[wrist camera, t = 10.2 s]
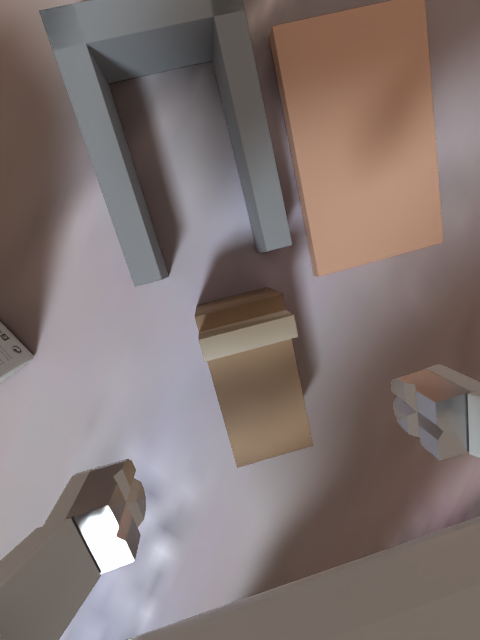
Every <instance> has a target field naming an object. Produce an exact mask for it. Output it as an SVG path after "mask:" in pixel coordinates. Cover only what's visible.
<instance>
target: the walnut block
mask: <svg viewBox="0 0 480 640" xmlns="http://www.w3.org/2000/svg"><path fill="white" fill-rule="evenodd" d="M195 319H196V323H197V327H198V330H199V343H200V347H201V350H202V354H203V358H204V361H205V362H206V361H207V362H208V366H209V369H210V373H211V376H212V380H213V383H214V387H215V390H216V394H217V397H218V401H219V405H220V408H221V412H222V415H223V419H224V422H225V426H226V429H227V433H228V436H229V440H230V443H231V447H232V451H233V454H234V458H235V461H236V465H237V468H238V467H242V466H245V465H248V464H252V463H255V462H259V461H262V460H265V459H269V458H272V457H276V456H279V455H282V454H286V453H289V452H293V451H296V450H299V449H303V448H306V447H309V446H313V443H312V438H311V433H310V428H309V423H308V418H307V413H306V408H305V403H304V398H303V393H302V388H301V383H300V378H299V373H298V368H297V363H296V358H295V353H294V348H293V343H292V338H296V337H298V333H297V328H296V322H295V317H294V315H293V314H292V313H290V312H289V311H287V310H286V308H285V303H284V298H283V294H281V293H279V292H277V291H274V290H272V289H270V288H264V289H260V290H256V291H252V292H248V293H244V294H240V295H236V296H232V297H228V298H224V299H220V300H216V301H213V302H209V303H205V304H201V305H197V307H196V313H195Z"/></svg>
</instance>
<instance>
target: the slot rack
mask: <svg viewBox="0 0 480 640" xmlns="http://www.w3.org/2000/svg"><path fill="white" fill-rule="evenodd" d="M39 12H40V15H41V18H42V21H43V24H44V26H45V29H46V32H47V35H48V38H49V41H50V44H51V47H52V49H53V52H54V55H55V58H56V61H57V64H58V67H59V70H60V73H61V75H62V78H63V81H64V84H65V87H66V90H67V93H68V96H69V98H70V101H71V104H72V107H73V110H74V113H75V116H76V119H77V121H78V124H79V127H80V130H81V133H82V136H83V139H84V142H85V145H86V147H87V150H88V153H89V156H90V159H91V162H92V165H93V168H94V170H95V173H96V176H97V179H98V182H99V185H100V188H101V191H102V193H103V196H104V199H105V202H106V205H107V208H108V211H109V214H110V216H111V219H112V222H113V225H114V228H115V231H116V234H117V237H118V240H119V242H120V245H121V248H122V251H123V254H124V257H125V260H126V263H127V265H128V268H129V271H130V274H131V277H132V280H133V283H134V286H135V287H136V286H139V285H143V284H147V283H151V282H154V281H158V280H162V279H164V278H166V277H168V276H169V275H168V272H167V269H166V265H165V262H164V259H163V256H162V253H161V249H160V246H159V243H158V240H157V237H156V234H155V230H154V227H153V224H152V221H151V218H150V215H149V211H148V208H147V205H146V202H145V199H144V195H143V192H142V189H141V186H140V183H139V180H138V176H137V173H136V170H135V167H134V164H133V161H132V157H131V154H130V151H129V148H128V145H127V141H126V138H125V135H124V132H123V129H122V126H121V122H120V119H119V116H118V113H117V110H116V107H115V103H114V100H113V97H112V94H111V91H110V87H109V83H113V82H118V81H122V80H127V79H131V78H136V77H140V76H145V75H149V74H154V73H158V72H163V71H167V70H172V69H176V68H181V67H185V66H190V65H194V64H199V63H204V62H208V61H213V65H214V70H215V74H216V78H217V83H218V87H219V91H220V95H221V100H222V104H223V108H224V112H225V117H226V121H227V125H228V130H229V134H230V138H231V142H232V147H233V151H234V155H235V160H236V164H237V168H238V172H239V177H240V181H241V185H242V189H243V194H244V198H245V202H246V207H247V211H248V215H249V219H250V224H251V228H252V232H253V236H254V241H255V245H256V249H257V253H260V252H268V251H271V250H275V249H279V248H283V247H286V246H290V245H292V241H291V236H290V231H289V226H288V221H287V216H286V211H285V206H284V201H283V196H282V191H281V186H280V182H279V177H278V172H277V167H276V162H275V157H274V152H273V147H272V142H271V137H270V132H269V127H268V122H267V117H266V113H265V108H264V103H263V98H262V93H261V88H260V83H259V78H258V73H257V68H256V63H255V58H254V53H253V48H252V44H251V39H250V34H249V29H248V24H247V19H246V14H245V9H244V4H243V0H89V1H84V2H79V3H74V4H69V5H64V6H59V7H54V8H50V9H45V10H40V11H39Z"/></svg>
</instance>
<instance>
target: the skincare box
mask: <svg viewBox="0 0 480 640" xmlns="http://www.w3.org/2000/svg"><path fill="white" fill-rule="evenodd" d="M32 359H33V355H32V354H31V353H30V352H29V351H28V350H27V349H26V347H25V346H24V345H23V344H22V343H21V342H20V341H19V340H18V339H17V338H16V337H15V336H14V335H13V334H12V333H11V332H10V331H9V330H8V329H7V328H6V327H5V326H4V325H3V324H2V323H1V322H0V383H2V382H3V381H4V380H6V379H7V378H8V377H10V376H11V375H12V374H14V373H15V372H16V371H18V370H19V369H20V368H22V367H23V366H24V365H25V364H27V363H28V362H29V361H30V360H32Z"/></svg>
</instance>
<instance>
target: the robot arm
mask: <svg viewBox="0 0 480 640" xmlns="http://www.w3.org/2000/svg"><path fill="white" fill-rule="evenodd" d="M390 386H391V392H392V393H393V394H394V395H395V396H396V398H395V400H394V402H393V410H394V415H395V417H396V419H397V421H398V423H399V424H400V426H401V427H402V428H403V429H404V430H405V431H406V432H407V433H408V434H409V435H412V436H415V437H419V438H420V444H421V445H422V446H423V447H424V448H425V449H426V450H427V451H429V452H430V453H431V454H432V455H433V456H434V457H436V458H437V459H438V460H439V461H441V460H445V459H448V458H451V457H455V456H458V455H462V454H465V453H468V452H469V454H471V455H473V456H476V457H478V458H480V382H479V381H477V380H475V379H472V378H470V377H468V376H466V375H464V374H461V373H459V372H457V371H455V370H453V369H451V368H448V367H446V366H444V365H438V364H436V365H433V366H430V367H427V368H425V369H422V370H420V371H417V372H413V373H410V374H407V375H404V376H401V377H398V378H395V379H392V380H391V384H390ZM135 471H136V469H135V467H134V465H133V463H132V461H131V460H129V459H126V460H122V461H118V462H115V463H111V464H108V465H104V466H101V467H97V468H94V469H90V470H87V471H83V472H80V473H77V474H75V475H74V476H72V477H71V479H70V481H69V482H68V484H67V486H66V488H65V489H64V491H63V493H62V494H61V496H60V498H59V500H58V501H57V503H56V505H55V506H54V508H53V510H52V512H51V513H50V515H49V517H48V518H47V520H46V522H45V523H44V525H43V527H40V528H37V529H35V530H34V531H33V532H32V533H31V534H30V535H29V536H28V537H26V538H25V539H24V540H23V541H22V542H21V543H20V544H19V545H17V546H16V547H15V548H14V549H13V550H12V551H11V552H10V553H9V554H7V555H6V556H5V557H4V558H3V559H2V560H1V561H0V640H59V639H60V637H61V636H62V634H63V633H64V631H65V630H66V628H67V627H68V625H69V624H70V622H71V621H72V619H73V618H74V616H75V614H76V613H77V611H78V610H79V608H80V607H81V605H82V604H83V602H84V601H85V599H86V598H87V596H88V595H89V593H90V592H91V590H92V589H93V587H94V586H95V584H96V583H97V581H98V579H99V578H100V576H101V575H100V574H101V573H104V572H107V571H109V570H112V569H115V568H118V567H120V566H123V565H126V564H129V563H131V562H134V561H135V558H136V553H137V549H138V544H139V540H140V533H139V530H138V526H139V525H140V524H141V522H142V521H143V520H144V516H145V511H146V497H145V492H144V488H143V486H142V483H141V482H140V481H138V480H136V479H135V478H134V475H135ZM127 640H480V517H477V518H474V519H471V520H469V521H466V522H463V523H460V524H457V525H454V526H451V527H448V528H446V529H443V530H440V531H437V532H434V533H431V534H428V535H425V536H423V537H420V538H417V539H414V540H411V541H408V542H405V543H402V544H400V545H397V546H394V547H391V548H388V549H385V550H382V551H380V552H377V553H374V554H371V555H368V556H365V557H362V558H359V559H357V560H354V561H351V562H348V563H345V564H342V565H339V566H336V567H334V568H331V569H328V570H325V571H322V572H319V573H316V574H313V575H311V576H308V577H305V578H302V579H299V580H296V581H293V582H290V583H288V584H285V585H282V586H279V587H276V588H273V589H270V590H267V591H265V592H262V593H259V594H256V595H253V596H250V597H247V598H244V599H242V600H239V601H236V602H233V603H230V604H227V605H224V606H222V607H219V608H216V609H213V610H210V611H207V612H204V613H201V614H199V615H196V616H193V617H190V618H187V619H184V620H181V621H178V622H176V623H173V624H170V625H167V626H164V627H161V628H158V629H156V630H153V631H150V632H147V633H144V634H141V635H138V636H135V637H133V638H130V639H127Z"/></svg>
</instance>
